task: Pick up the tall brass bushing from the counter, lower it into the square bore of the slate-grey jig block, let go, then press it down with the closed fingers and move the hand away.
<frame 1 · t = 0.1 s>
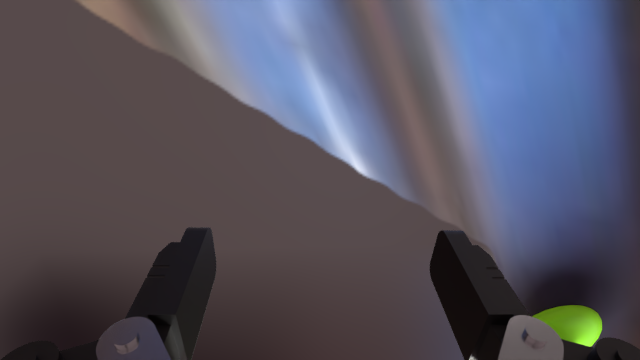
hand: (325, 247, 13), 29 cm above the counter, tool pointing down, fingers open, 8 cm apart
wineglass: (554, 333, 64), on the counter
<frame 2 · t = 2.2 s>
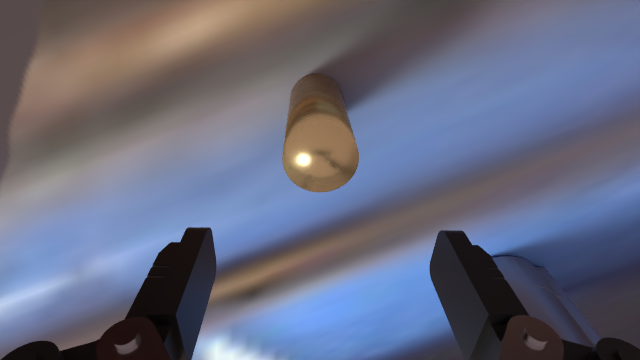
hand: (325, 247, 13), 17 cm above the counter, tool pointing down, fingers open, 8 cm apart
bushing: (316, 100, 27), on the counter
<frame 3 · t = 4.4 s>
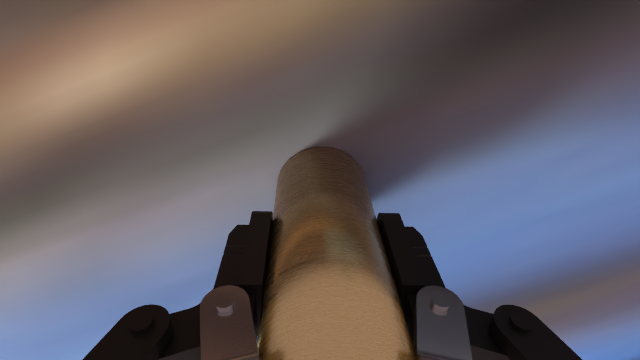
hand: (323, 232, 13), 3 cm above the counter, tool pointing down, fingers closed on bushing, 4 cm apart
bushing: (321, 186, 16), on the counter, touching gripper
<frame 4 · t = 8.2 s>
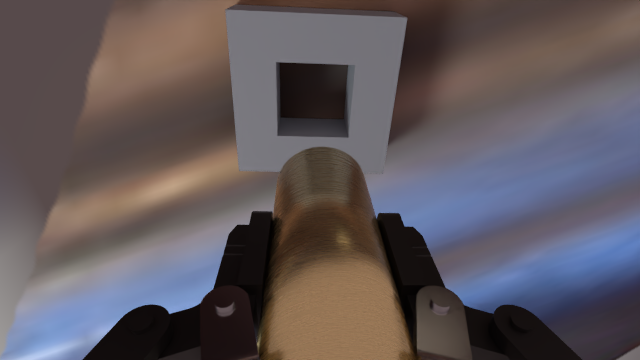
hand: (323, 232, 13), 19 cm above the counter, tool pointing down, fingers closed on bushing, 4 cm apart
jig block: (313, 86, 30), on the counter
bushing: (321, 186, 16), point 16 cm above the counter, touching gripper
when the fingers open (5 cm above the counter, at t = 11.9 s): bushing drops 2 cm, resting in jig block.
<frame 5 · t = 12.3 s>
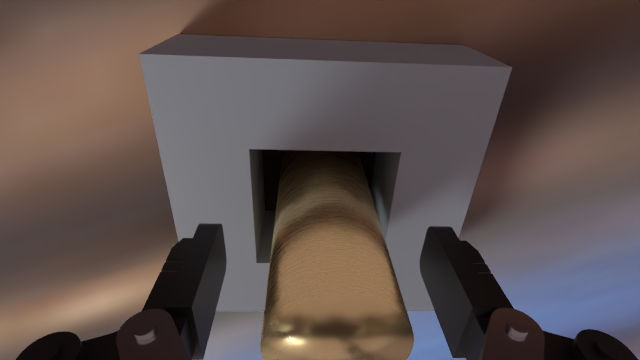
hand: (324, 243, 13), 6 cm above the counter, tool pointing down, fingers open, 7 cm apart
jig block: (318, 165, 18), on the counter
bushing: (320, 166, 18), resting in jig block
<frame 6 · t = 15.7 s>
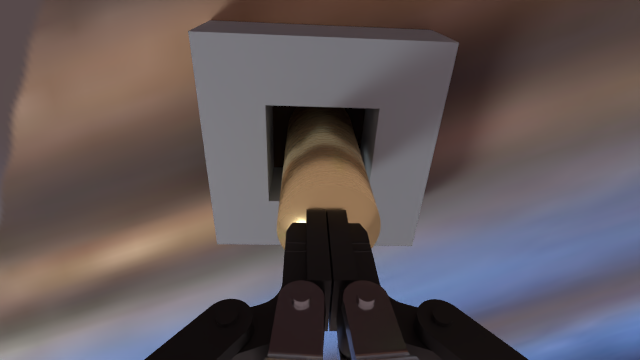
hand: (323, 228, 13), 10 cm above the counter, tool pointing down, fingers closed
jig block: (318, 129, 22), on the counter
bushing: (319, 129, 22), resting in jig block, touching gripper
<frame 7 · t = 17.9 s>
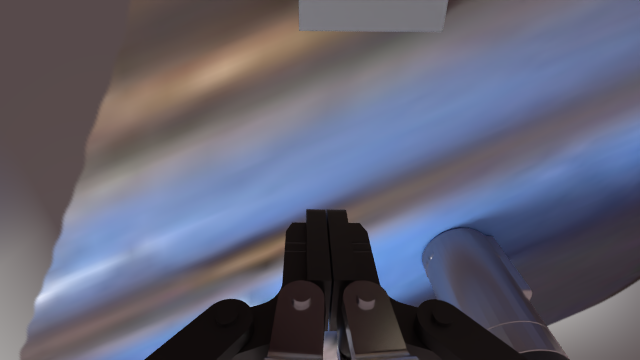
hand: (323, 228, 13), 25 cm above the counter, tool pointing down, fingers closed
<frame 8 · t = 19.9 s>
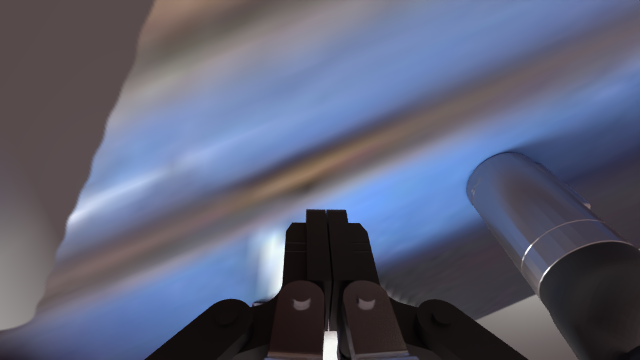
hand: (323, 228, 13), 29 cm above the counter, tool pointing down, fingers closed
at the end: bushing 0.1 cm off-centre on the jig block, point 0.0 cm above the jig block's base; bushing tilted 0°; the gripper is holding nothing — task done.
